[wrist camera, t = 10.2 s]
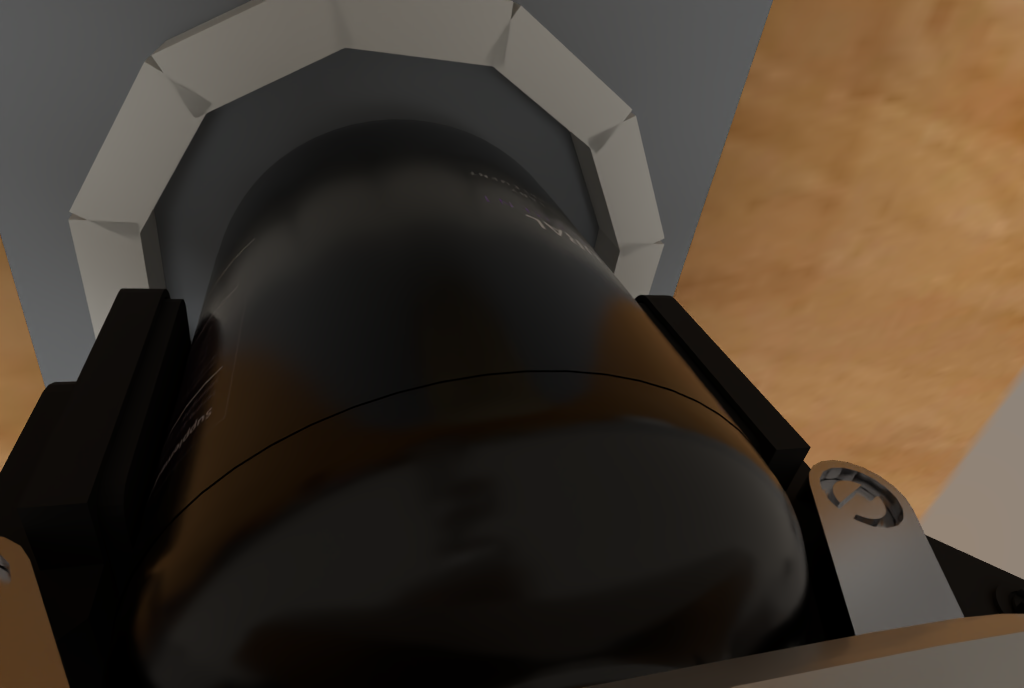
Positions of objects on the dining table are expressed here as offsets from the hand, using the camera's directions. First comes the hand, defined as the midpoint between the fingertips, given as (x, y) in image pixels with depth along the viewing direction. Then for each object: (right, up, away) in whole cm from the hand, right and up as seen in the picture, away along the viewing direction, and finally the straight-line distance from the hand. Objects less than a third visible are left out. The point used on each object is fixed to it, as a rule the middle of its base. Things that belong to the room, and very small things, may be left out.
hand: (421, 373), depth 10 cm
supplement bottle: (-1, +2, +3) cm, 3 cm away
